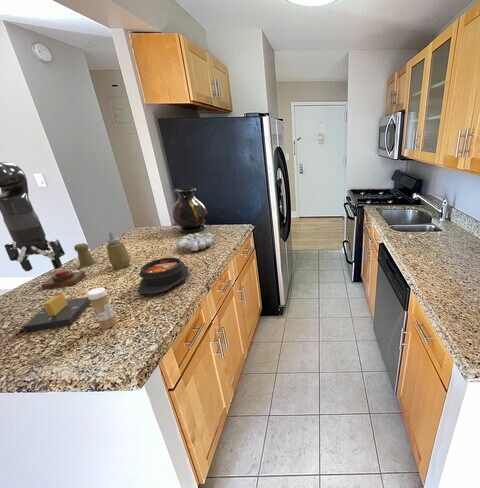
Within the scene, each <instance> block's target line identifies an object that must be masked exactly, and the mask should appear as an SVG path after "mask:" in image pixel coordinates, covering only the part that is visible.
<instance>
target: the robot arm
mask: <svg viewBox="0 0 480 488" xmlns="http://www.w3.org/2000/svg"><path fill="white" fill-rule="evenodd" d="M28 185H29V184H28V178H27V176H26V174H25V172H24V171H23V170H22V168H21V167H20V166H18V165H17V164H16V163H12V162H9V161H0V214H1V216H2V220H3V222H4V225H5V227H6V230H7V231H8V233H9V236H10V237H11V240H12V241H11V242H9V243H6V244H5V245H4V249H5V251H6V254H7V256H8V259H9V261H11V262H14V261H16V262H18V263H19V264H20V266H21V268H22V270H24V272H31V271H32V270H33V266H32V263H31V261H30V260H29V259H28V258H29V256H32V255H33V256H34V255H36V256H37V255H42V256H43V257H46V258H48V259H50V262H51V264H52V267H53V269H54V270H60V269H61V268H62V266H63V264H62V261H61V257H63V256H64V255H66V253H65V251H64V249H63V246H62V244H61V242H60V240H59V239H54V240H48V239H47V238H46V236H47V235H46V233H45V230H44V228H43V226H42V223H41V221H40V218H39V216H38V214H37V213H36V211H35V209H34V207H33V205H32V203H31V200H30V198H29V186H28ZM19 250H20V252H19Z"/></svg>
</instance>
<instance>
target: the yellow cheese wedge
mask: <svg viewBox="0 0 480 488" xmlns="http://www.w3.org/2000/svg"><path fill="white" fill-rule="evenodd" d="M66 300H67V299H66V297H65V295H64V293H63V292H56V293H55V294H54V295H53V296H51V297H50V298H49V299H47V300H46V301H45V302H43V303H42V305H43V308H44V307H45V309H46V311H47V313H48V315H49V316H55V315H56V314H57V313H59V312H60V311H61V310H62V309H63V308H64V307H66V306H67V305H68V304H67V302H66Z"/></svg>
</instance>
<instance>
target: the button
mask: <svg viewBox="0 0 480 488" xmlns="http://www.w3.org/2000/svg"><path fill="white" fill-rule="evenodd" d="M67 271H68V270H67V269H58V270H57V271H55V272H54V274H56V276H57V277H59V276H64V275H66V274H68V272H67Z"/></svg>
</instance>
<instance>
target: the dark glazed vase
mask: <svg viewBox="0 0 480 488" xmlns="http://www.w3.org/2000/svg"><path fill="white" fill-rule="evenodd" d="M196 191H197V189H196V188H195V187H180V188H175V189H174V191H173V192H174V193H176V194H177V195H178V198H177V201H175V203H174V205H173V207H172V210H171V218H172V221H173V222H174V224H175V225H177V226H178V227H179V231H180V232H181V233H184V234H194V233H199V232H201V231H204V230H205V229H206V228H207V226H206V224H205V223H206V222H207V220H208V217H209V214H208V211H207V208H206V206H205V205H204V203H202V201H200V200H199V199H198V198H197V197H195V194H194V193H195V192H196Z"/></svg>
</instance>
